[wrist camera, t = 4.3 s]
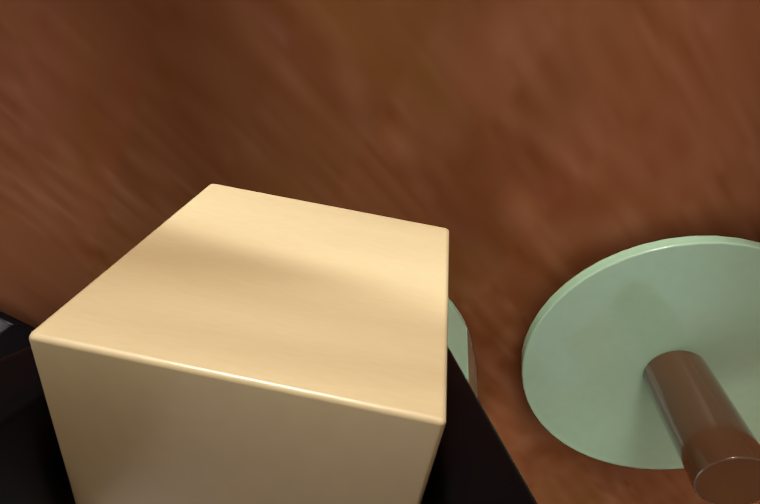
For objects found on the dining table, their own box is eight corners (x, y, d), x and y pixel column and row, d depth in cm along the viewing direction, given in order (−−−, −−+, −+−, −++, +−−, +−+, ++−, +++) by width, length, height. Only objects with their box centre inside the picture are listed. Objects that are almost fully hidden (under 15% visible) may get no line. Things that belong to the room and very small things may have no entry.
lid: (665, 481, 24) (725, 622, 19) (466, 375, 23) (469, 496, 17) (905, 325, 19) (1088, 466, 13) (660, 168, 17) (753, 255, 12)
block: (407, 401, 11) (382, 630, 7) (216, 361, 11) (89, 563, 7) (450, 227, 9) (448, 423, 5) (210, 181, 9) (23, 333, 5)
